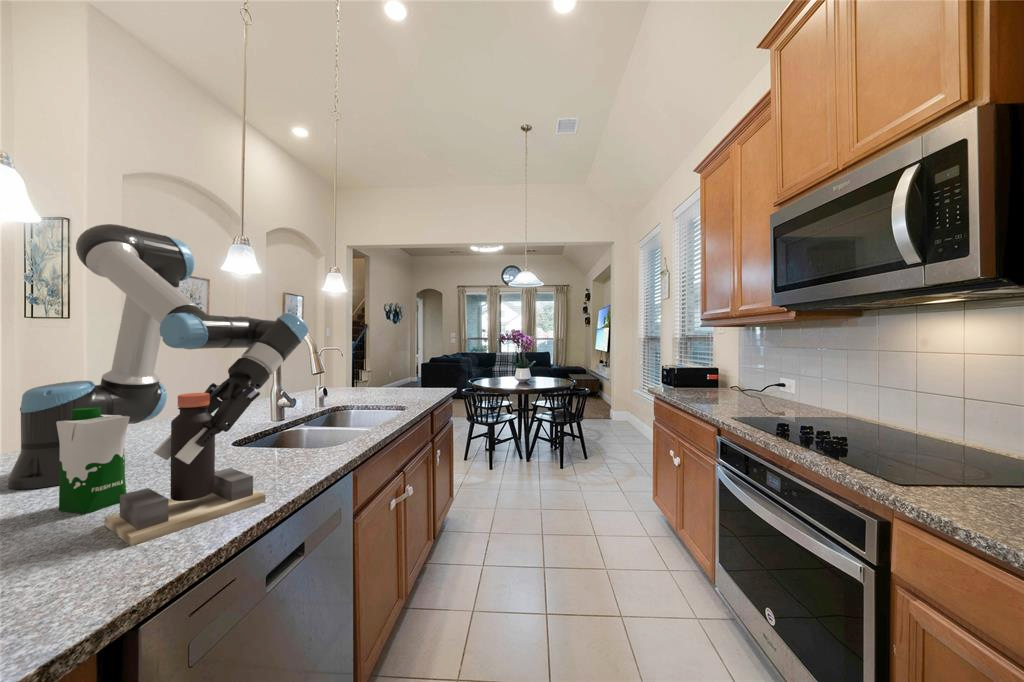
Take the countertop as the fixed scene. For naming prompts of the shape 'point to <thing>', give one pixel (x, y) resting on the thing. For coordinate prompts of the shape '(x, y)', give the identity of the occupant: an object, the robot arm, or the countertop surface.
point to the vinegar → (201, 470)
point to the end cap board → (181, 508)
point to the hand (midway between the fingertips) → (171, 458)
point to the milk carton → (91, 460)
